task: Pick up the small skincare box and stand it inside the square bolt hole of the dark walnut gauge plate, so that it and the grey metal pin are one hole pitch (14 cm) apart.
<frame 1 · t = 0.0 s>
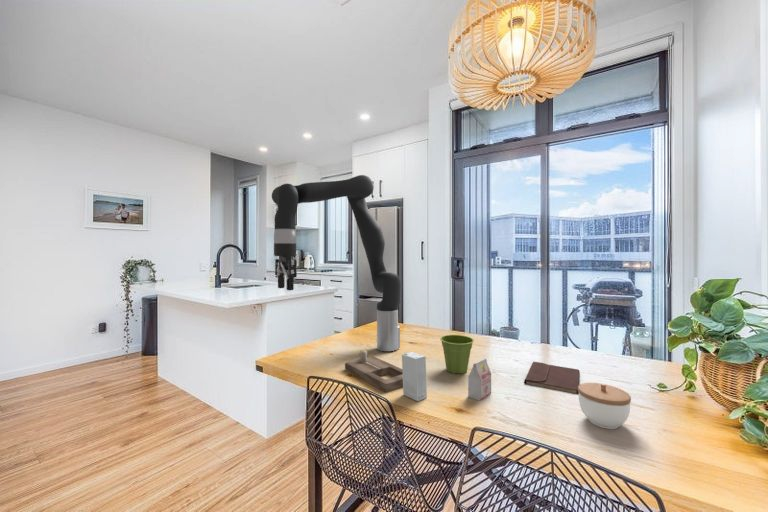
hand: (285, 289, 112), 29 cm above the table, tool pointing down, fingers open, 8 cm apart
lidded jar: (603, 423, 79), on the table
notebook: (552, 380, 108), on the table
plant pot: (456, 371, 115), on the table
skincare box: (414, 397, 94), on the table
milk carton: (479, 395, 95), on the table
gauge plate: (378, 375, 110), on the table
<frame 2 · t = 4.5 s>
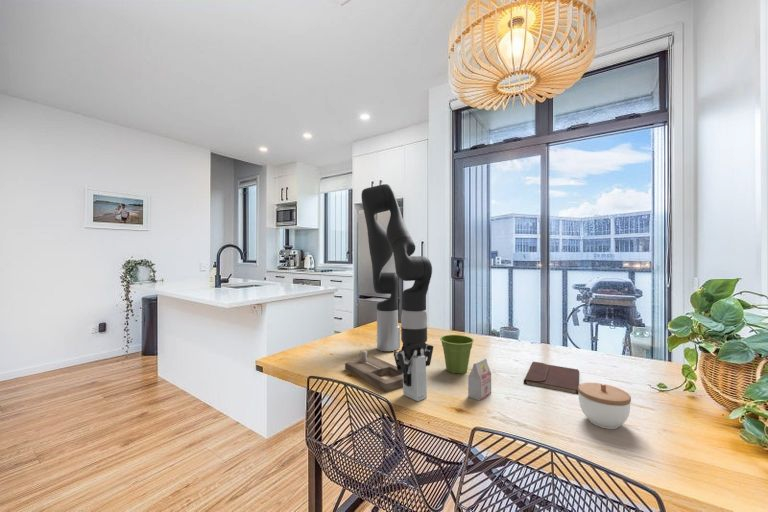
hand: (414, 383, 94), 4 cm above the table, tool pointing down, fingers closed on skincare box, 4 cm apart
skincare box: (414, 397, 94), on the table, touching gripper
everything else where it was.
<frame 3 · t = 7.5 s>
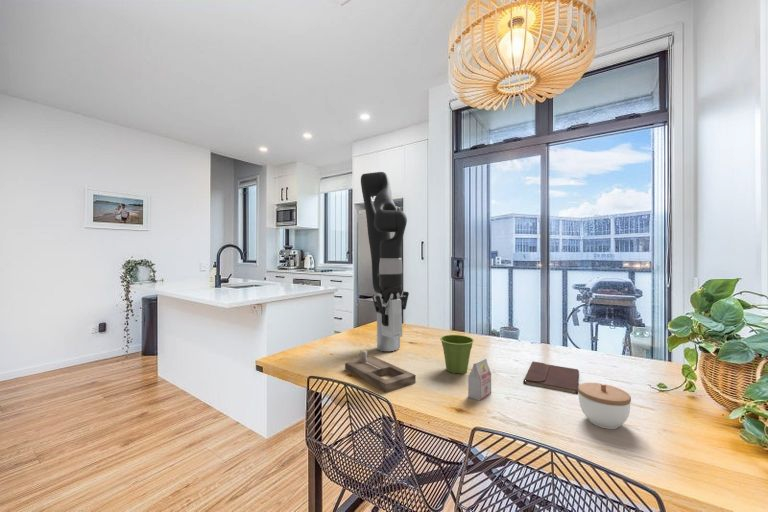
hand: (391, 324, 105), 19 cm above the table, tool pointing down, fingers closed on skincare box, 4 cm apart
skincare box: (391, 336, 105), point 15 cm above the table, touching gripper
everything else where it was.
when the fingers open (5 cm above the table, at t = 10.0 s): skincare box drops 1 cm, resting in gauge plate.
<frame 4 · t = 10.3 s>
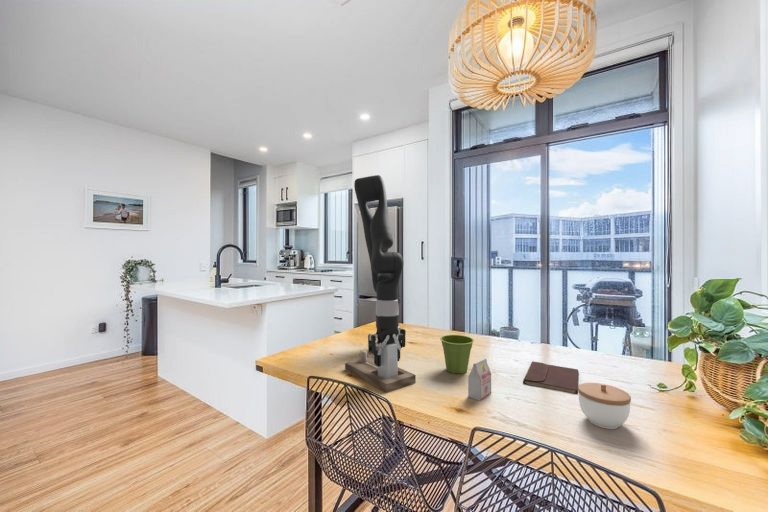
hand: (387, 363, 106), 6 cm above the table, tool pointing down, fingers open, 7 cm apart
skincare box: (387, 380, 106), resting in gauge plate
everything else where it was.
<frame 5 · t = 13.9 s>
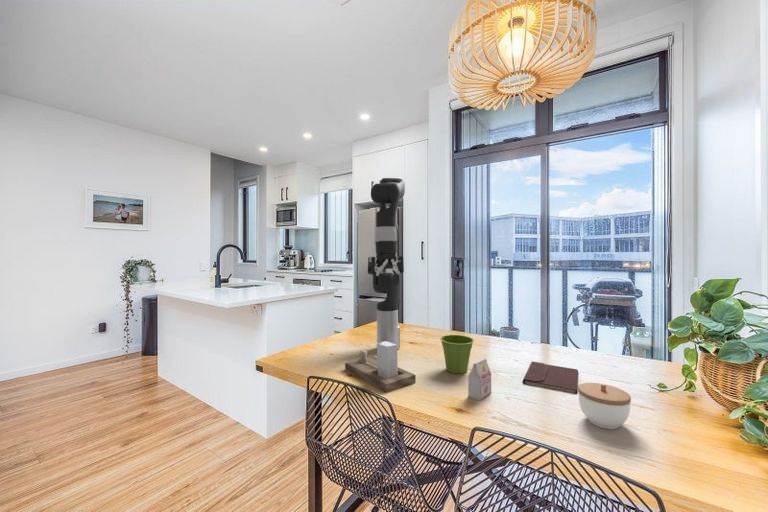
hand: (386, 285, 114), 30 cm above the table, tool pointing down, fingers open, 8 cm apart
nothing on the table moved.
at the end: skincare box 0.1 cm from the target spot on the gauge plate, point 0.0 cm above the gauge plate's base; skincare box tilted 0°; the gripper is holding nothing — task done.
